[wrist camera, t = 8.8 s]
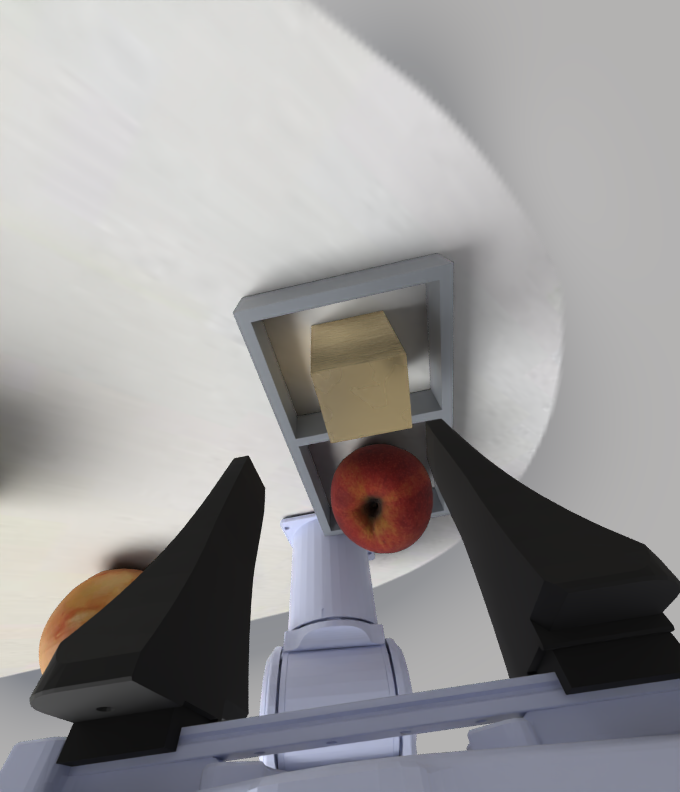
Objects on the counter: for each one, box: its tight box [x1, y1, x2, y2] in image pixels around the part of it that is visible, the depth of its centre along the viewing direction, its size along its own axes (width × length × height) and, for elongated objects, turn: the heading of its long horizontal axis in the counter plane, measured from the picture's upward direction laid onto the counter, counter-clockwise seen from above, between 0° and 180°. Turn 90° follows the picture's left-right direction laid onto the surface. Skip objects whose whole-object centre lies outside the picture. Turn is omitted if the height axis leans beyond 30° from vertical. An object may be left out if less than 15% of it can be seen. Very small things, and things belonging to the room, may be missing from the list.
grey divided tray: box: [233, 253, 454, 536], centre depth 23 cm, size 21×11×2 cm, turn 12°
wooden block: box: [311, 311, 412, 443], centre depth 18 cm, size 4×4×6 cm
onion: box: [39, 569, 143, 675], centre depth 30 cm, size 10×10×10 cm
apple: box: [331, 444, 433, 553], centre depth 23 cm, size 7×8×8 cm
